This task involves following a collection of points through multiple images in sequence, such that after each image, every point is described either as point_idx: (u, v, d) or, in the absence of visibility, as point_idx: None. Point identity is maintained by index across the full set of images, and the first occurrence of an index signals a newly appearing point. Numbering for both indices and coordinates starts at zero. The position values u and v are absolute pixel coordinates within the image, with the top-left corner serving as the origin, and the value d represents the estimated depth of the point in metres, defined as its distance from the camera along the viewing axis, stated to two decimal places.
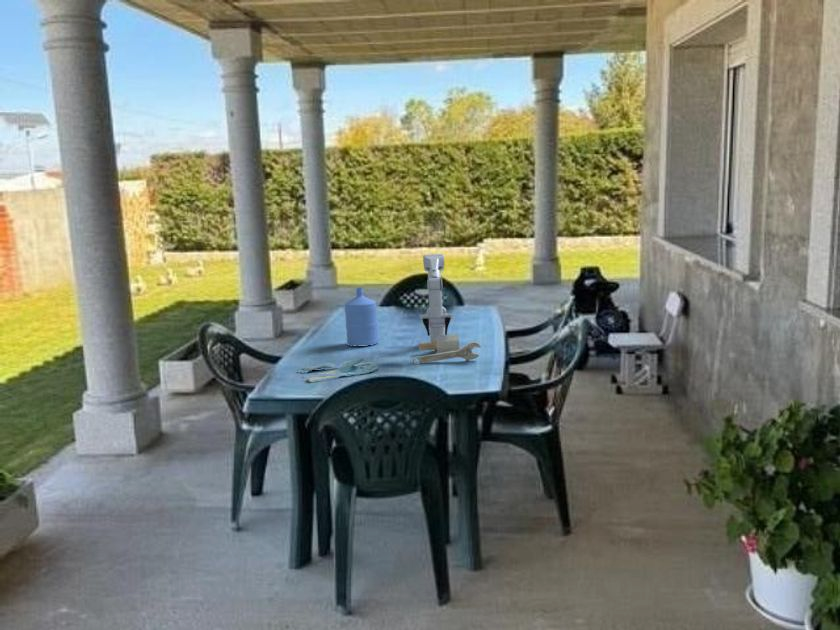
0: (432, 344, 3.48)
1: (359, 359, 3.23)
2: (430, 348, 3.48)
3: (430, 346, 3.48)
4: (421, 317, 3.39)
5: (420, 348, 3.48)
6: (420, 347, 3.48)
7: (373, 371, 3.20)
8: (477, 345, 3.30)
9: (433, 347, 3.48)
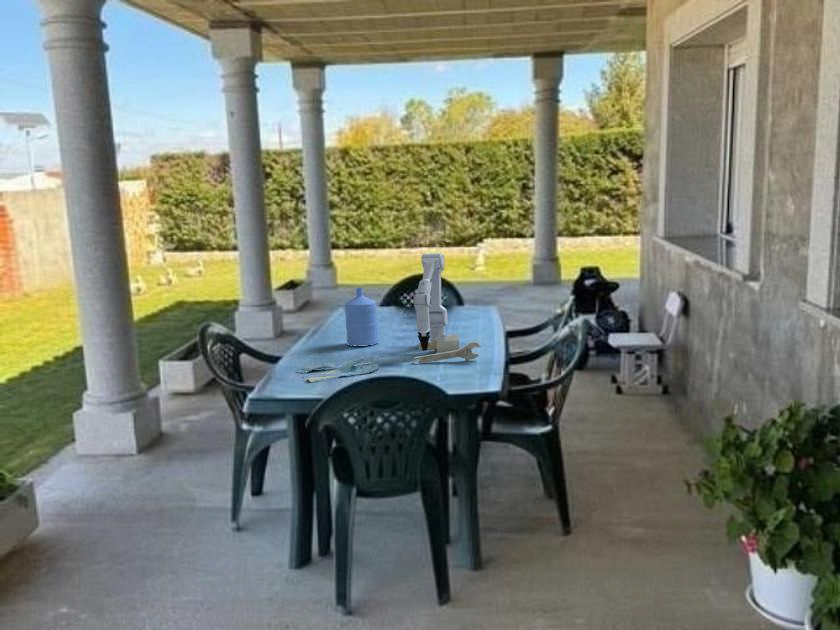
0: (432, 344, 3.48)
1: (359, 359, 3.23)
2: (430, 348, 3.48)
3: (430, 346, 3.48)
4: None
5: (420, 348, 3.48)
6: (420, 347, 3.48)
7: (373, 371, 3.20)
8: (477, 345, 3.30)
9: (433, 347, 3.48)
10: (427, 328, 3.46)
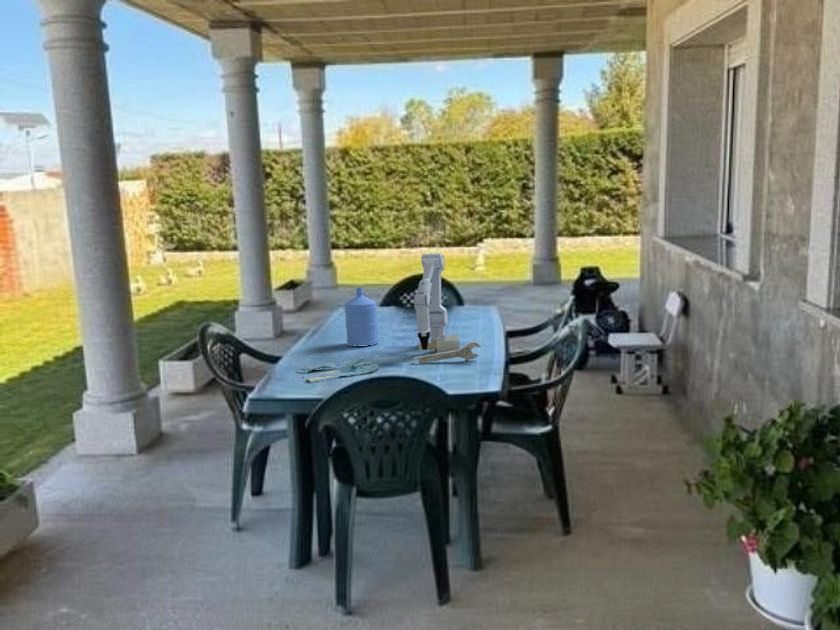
0: (432, 344, 3.48)
1: (359, 359, 3.23)
2: (430, 348, 3.48)
3: (430, 346, 3.48)
4: None
5: (420, 348, 3.48)
6: (420, 347, 3.48)
7: (373, 371, 3.20)
8: (477, 345, 3.30)
9: (433, 347, 3.48)
10: (427, 328, 3.46)
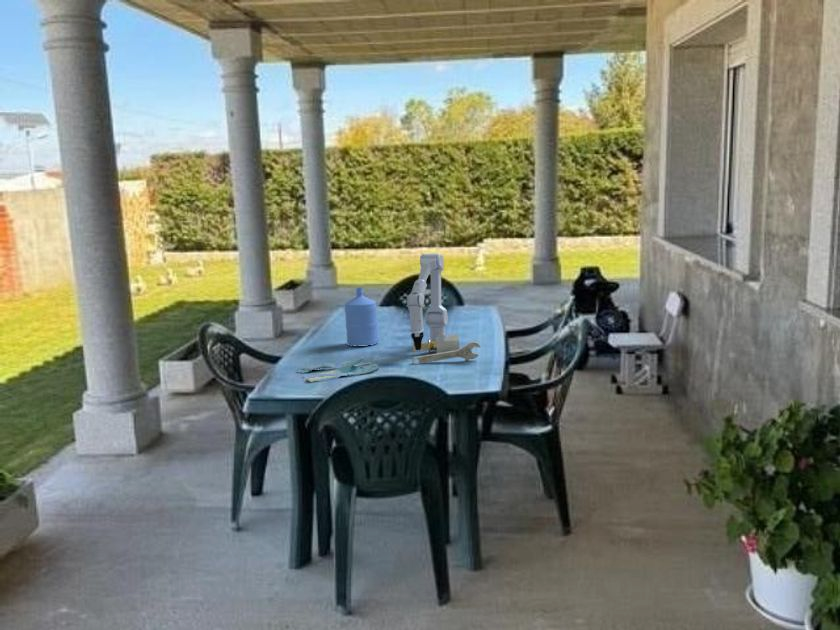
0: (426, 344, 3.48)
1: (359, 359, 3.23)
2: (424, 348, 3.48)
3: (424, 346, 3.48)
4: None
5: (414, 348, 3.48)
6: (414, 347, 3.48)
7: (373, 371, 3.20)
8: (477, 345, 3.30)
9: (427, 347, 3.48)
10: (420, 328, 3.46)
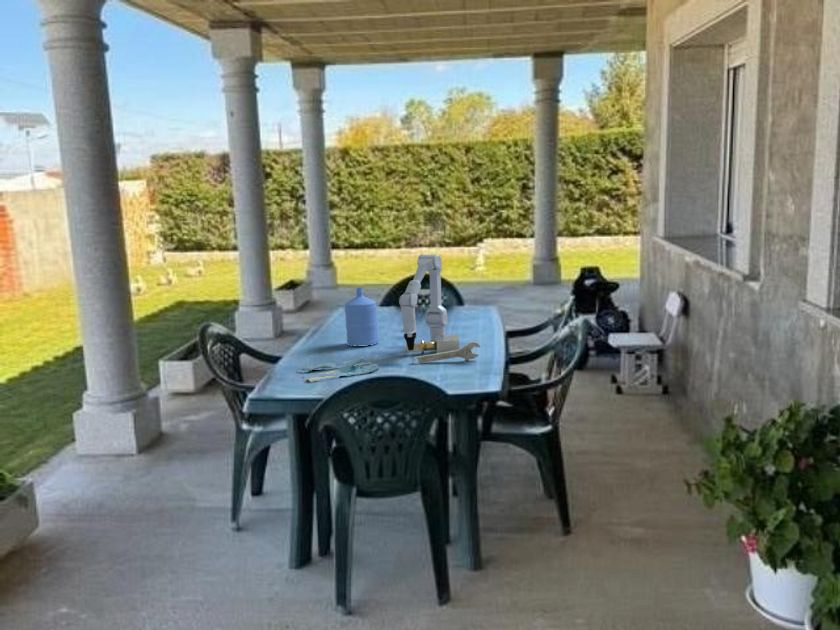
0: (419, 345, 3.48)
1: (359, 359, 3.23)
2: (417, 349, 3.48)
3: (417, 347, 3.48)
4: None
5: (407, 349, 3.48)
6: (407, 348, 3.48)
7: (373, 371, 3.20)
8: (477, 345, 3.30)
9: (420, 348, 3.48)
10: (413, 329, 3.46)
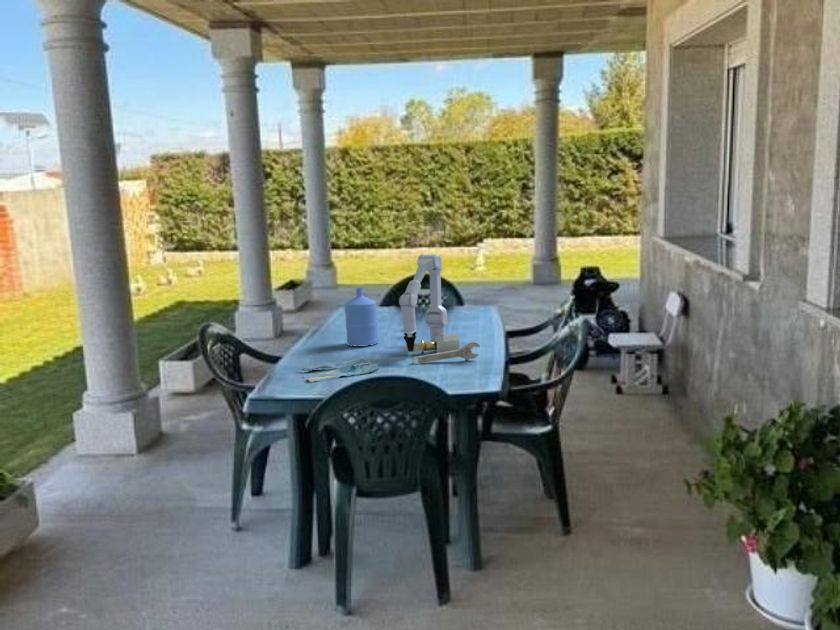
0: (419, 345, 3.48)
1: (359, 359, 3.23)
2: (417, 349, 3.48)
3: (417, 347, 3.48)
4: None
5: (407, 349, 3.48)
6: (407, 348, 3.48)
7: (373, 371, 3.20)
8: (476, 345, 3.31)
9: (420, 348, 3.48)
10: (413, 329, 3.46)
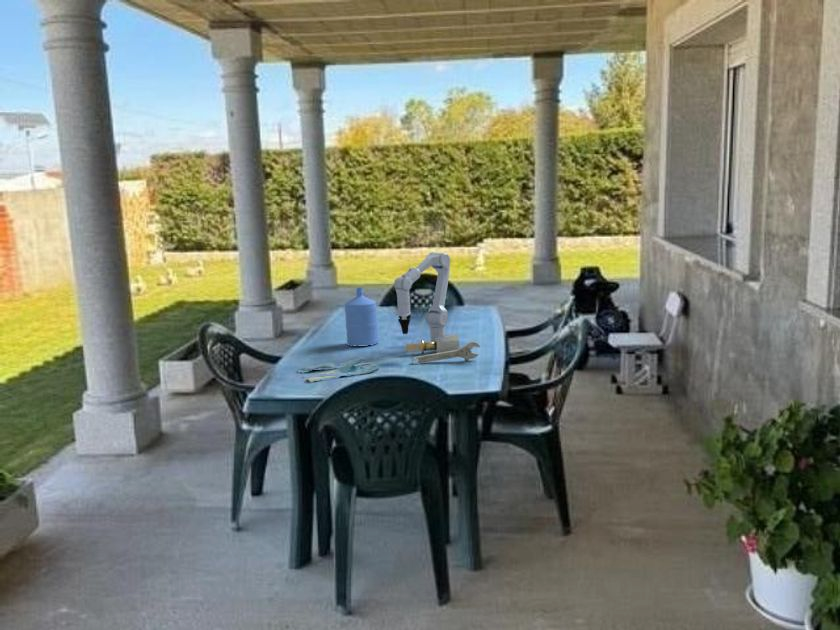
0: (419, 345, 3.48)
1: (359, 359, 3.23)
2: (417, 349, 3.48)
3: (417, 347, 3.48)
4: None
5: (407, 349, 3.48)
6: (407, 348, 3.48)
7: (373, 371, 3.20)
8: (476, 345, 3.31)
9: (420, 348, 3.48)
10: (408, 312, 3.50)
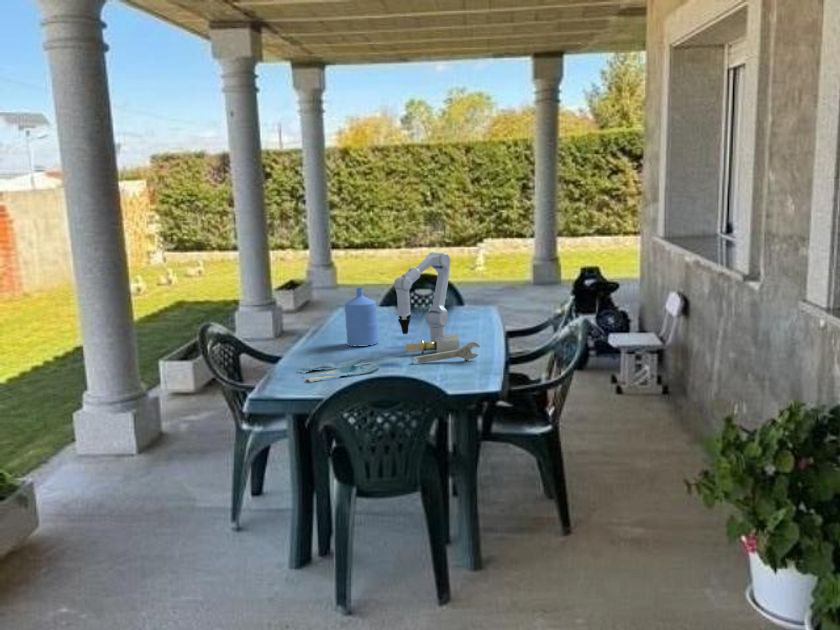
0: (419, 345, 3.48)
1: (359, 359, 3.23)
2: (417, 349, 3.48)
3: (417, 347, 3.48)
4: None
5: (407, 349, 3.48)
6: (407, 348, 3.48)
7: (373, 371, 3.20)
8: (476, 345, 3.31)
9: (420, 348, 3.48)
10: (408, 312, 3.50)
